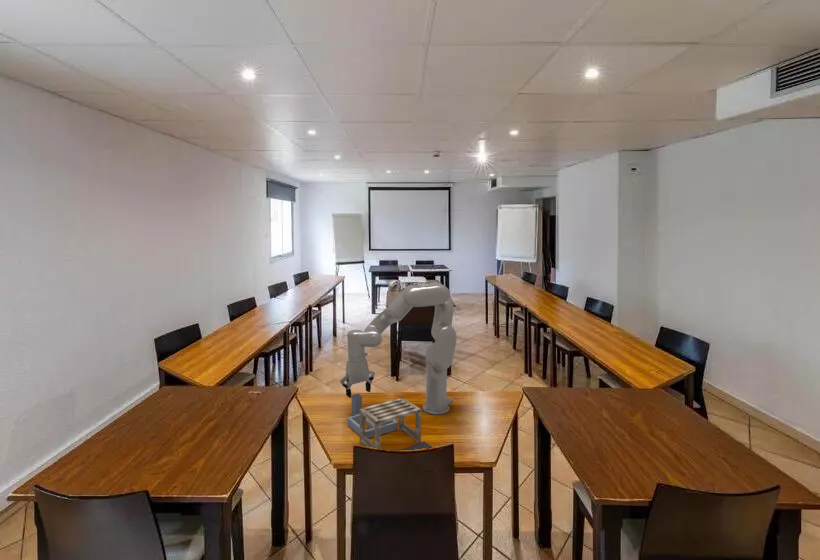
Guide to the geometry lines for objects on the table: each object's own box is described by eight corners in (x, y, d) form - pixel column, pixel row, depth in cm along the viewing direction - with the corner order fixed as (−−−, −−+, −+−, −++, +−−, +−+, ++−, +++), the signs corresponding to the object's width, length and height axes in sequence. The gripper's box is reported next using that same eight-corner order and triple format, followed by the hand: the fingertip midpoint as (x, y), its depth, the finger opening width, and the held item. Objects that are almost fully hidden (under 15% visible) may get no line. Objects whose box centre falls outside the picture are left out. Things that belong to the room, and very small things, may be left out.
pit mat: (424, 442, 168) (424, 441, 168) (431, 447, 164) (431, 446, 164) (399, 450, 161) (399, 449, 161) (406, 456, 157) (406, 455, 157)
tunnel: (402, 428, 180) (402, 397, 178) (420, 441, 169) (421, 409, 167) (359, 441, 168) (359, 408, 167) (376, 456, 157) (376, 421, 156)
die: (375, 438, 172) (390, 417, 173) (359, 424, 175) (373, 404, 176) (380, 436, 180) (394, 416, 181) (364, 423, 183) (378, 403, 184)
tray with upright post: (370, 409, 198) (370, 390, 197) (398, 429, 178) (398, 409, 177) (339, 417, 189) (338, 398, 188) (364, 439, 169) (364, 418, 168)
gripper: (369, 351, 197) (371, 387, 199) (335, 359, 187) (337, 396, 190) (377, 355, 191) (379, 391, 193) (342, 363, 181) (345, 401, 183)
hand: (358, 394), depth 191 cm, fingers open, 9 cm apart
